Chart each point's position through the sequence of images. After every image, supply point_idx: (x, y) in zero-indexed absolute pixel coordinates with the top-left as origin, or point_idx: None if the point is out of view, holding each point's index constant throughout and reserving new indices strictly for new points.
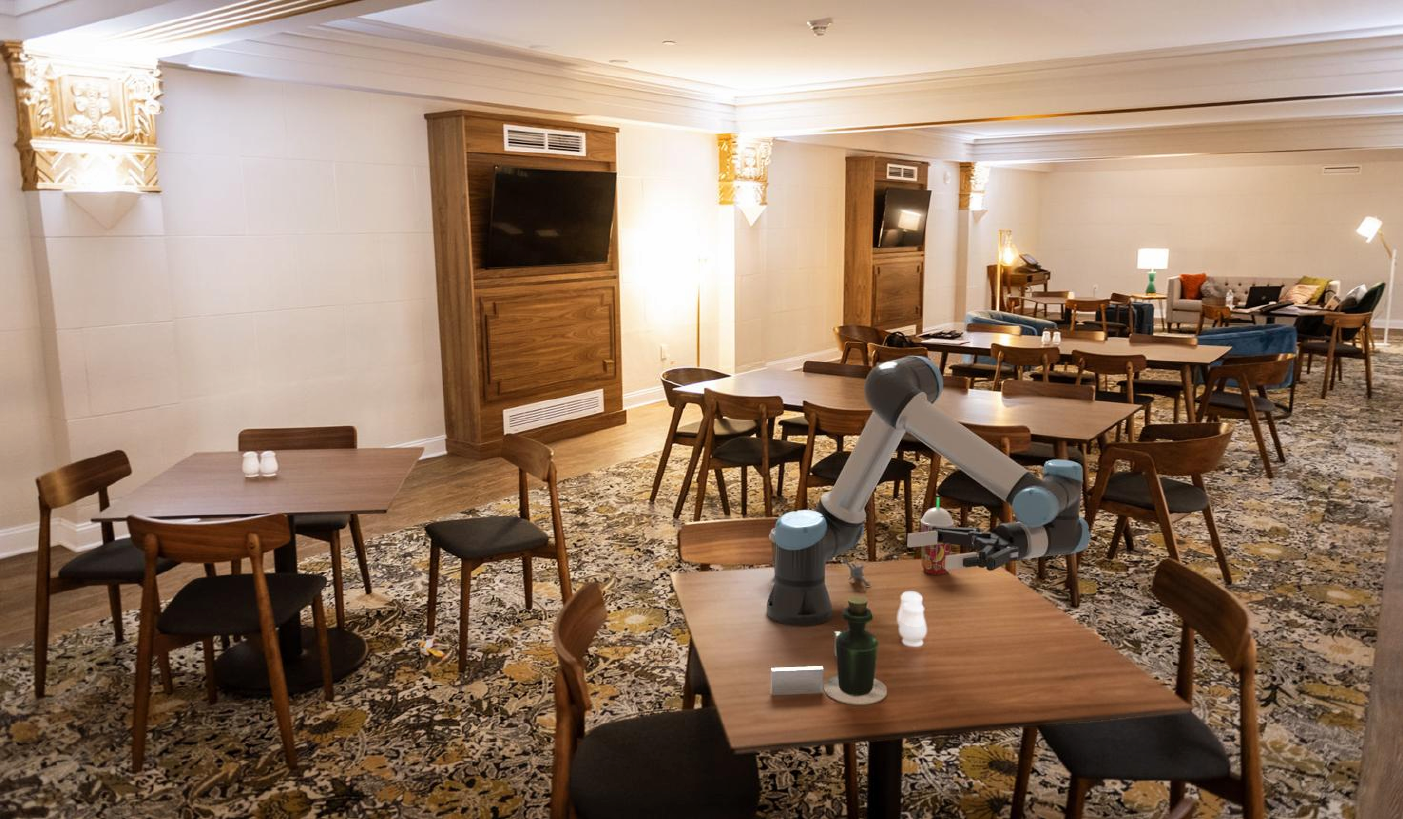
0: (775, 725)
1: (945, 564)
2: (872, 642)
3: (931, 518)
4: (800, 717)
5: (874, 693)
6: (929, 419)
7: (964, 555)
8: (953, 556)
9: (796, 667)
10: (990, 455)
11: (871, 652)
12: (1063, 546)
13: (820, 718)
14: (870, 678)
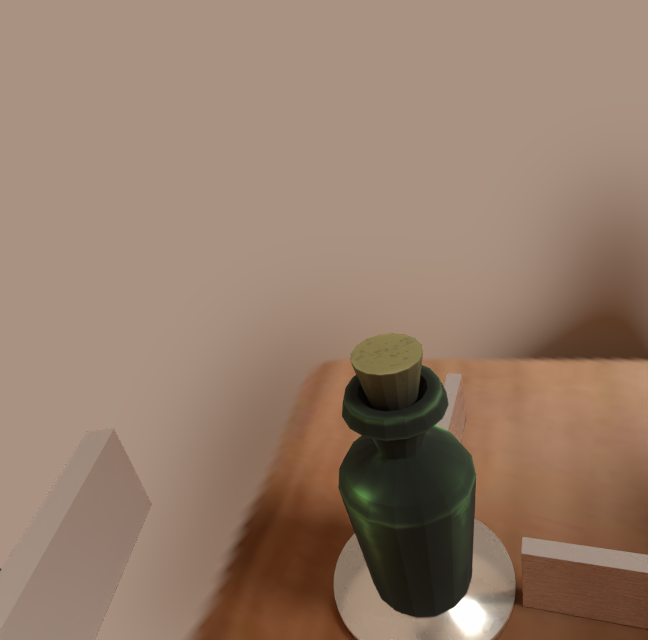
0: (336, 402)
1: (134, 479)
2: (349, 485)
3: None
4: (345, 440)
5: (373, 609)
6: None
7: (12, 562)
8: (66, 470)
9: (450, 411)
10: None
11: (343, 499)
12: None
13: (325, 468)
14: (367, 564)
